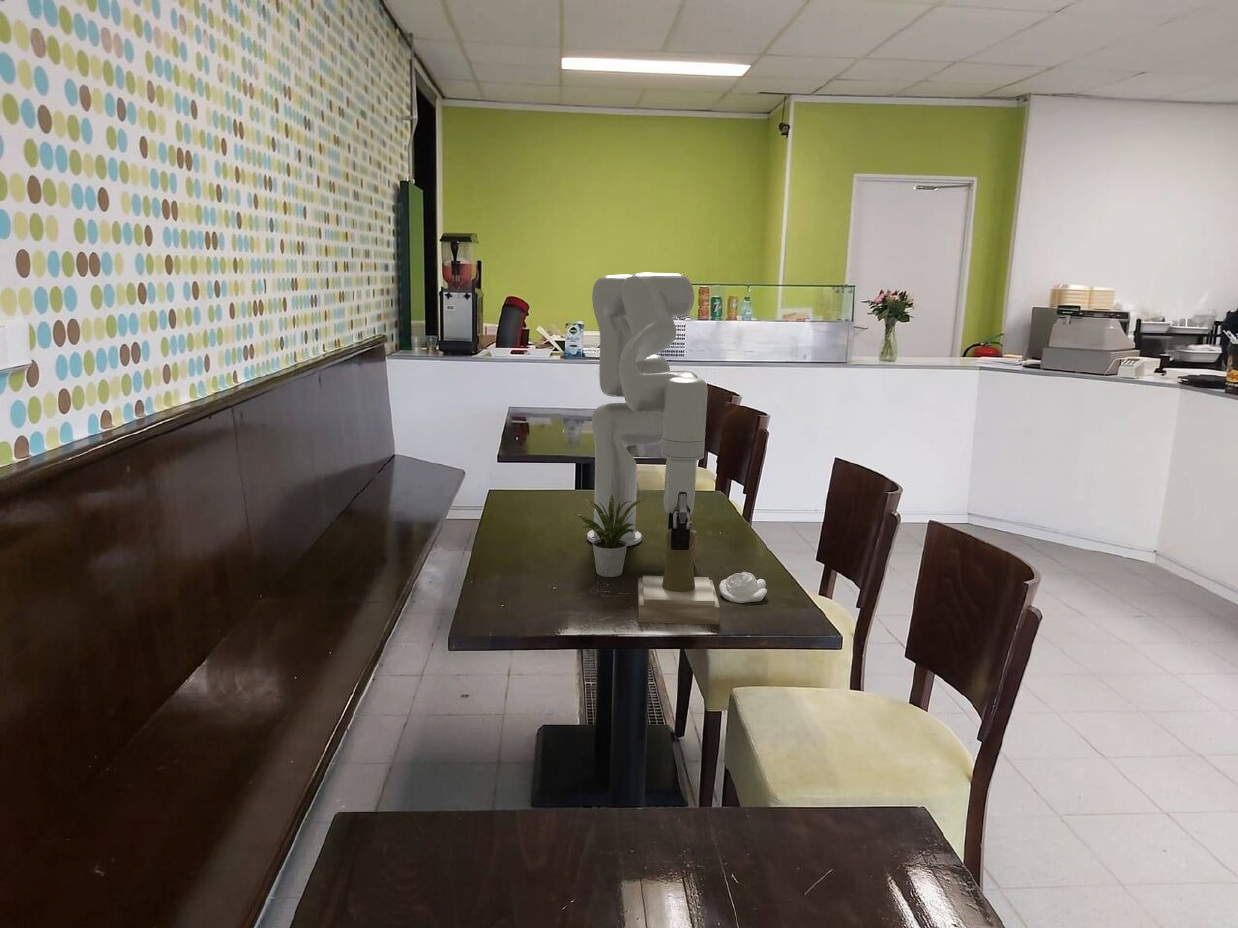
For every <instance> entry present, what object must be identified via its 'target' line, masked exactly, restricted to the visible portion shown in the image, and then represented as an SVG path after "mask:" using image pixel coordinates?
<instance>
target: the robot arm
mask: <svg viewBox="0 0 1238 928" xmlns="http://www.w3.org/2000/svg"><path fill="white" fill-rule="evenodd" d="M591 295H592V296H591V300H592V309H593V313H594V317H595V320H596V324H597V326H598V331H599V368H598V369H599V374H598V375H599V376H598V378H599V387H600V390H601V392H602V393H603V395H605V396H608V397H615V398H624V401H625V402H612V403H605V404H601V405H599V406H598V407H596V408H595V409H594V411H593V413H592V416H591V427H592V435H593V441H594V442H593V443H594V458H595V459H594V467H595V468H594V498H595V499H594V503H595V504H597V505H598V506H599V507H600V508H601V510H602V511H603V513H604V514H605V512H604V510H603V508H602V506H601V505H600V503H601V504H602V505H603V507H604V508H605V510H606V512H607V514H608V516H609V511H608V509H609V502H610V497H611V495H613V498H614V522H613V523H614V524H615V518H616V510H617V506H618V504H619V502H620V503H621V504H620V506H622V505H623V504H624V503H625V502H627V503H626V504H625V505H624V506H623V507H622V508H621V507H620V508H621V510H620V512H619V517H620V516H622V515H624V513H625V511H626V510H627V508H628V507H629V506H630V505H632V504H633V503H634V502H636V501H637V486H638V485H637V482H638V481H637V479H638V465H637V462H636V459H635V458H634V456H633V455H632V454H631V453H630V452H629V451H628V449H627V447H630V446H644V445H645V446H646V445H647V446H648V445H660V444H661V452H660V453H661V455H660V456H661V457H662V458H664V459H666V461H665V472H664V473H665V474H664V489H663V491H664V492H663V507H664V508H663V509H664V512H665V514H667V515H668V525H667V526H668V528H667V531H668V530H669V529H671V528H672V530H671V549H672V550H689V541H690V528H689V521H690V516H691V515H692V514H694V508H695V506H694V505H695V498H696V497H695V496H696V485H697V470H698V469H697V467H698V461H700V460H702V459H704V457H705V443H706V441H705V439H706V423H707V408H708V392H709V391H708V390H709V389H708V384H707V382H706V381H705V380H703V379H702V378H699V377H698V375H697V374H695V373H694V372H692V371H688V370H687V371H686V370H671V369H670V365H669V362H668V360H667V359H666V358H665V357H664V356H662V355H659V354H658V353H661V352H663V351H664V350H667V348H669V347H670V346H671V345H672V344H673V342H674V341H675V339H676V338H677V337H676V336H677V328H676V324H675V322H674V318H673V317H676V318H677V317H678V318H679V317H685V316H687V315H688V314H690V312H691V311H692V310H693V307H694V303H695V291H694V287H693V285H692V283H691V281H690V280H689V278H688V277H687V276H685V275H684V274H682V273H670V272H668V273H666V272H639V273H635V274H610V275H609V274H608V275H604V276H602V277H600V278H597V280H596V281H595V283H594V284H593V288H592V293H591ZM598 501H599V502H600V503H599V502H598ZM628 501H631V502H628ZM593 508H594V507H593ZM635 510H636V511H635ZM634 511H635V512H634ZM631 514H632V515H631ZM605 515H606V514H605ZM630 515H631V516H630ZM600 516H601V514H600ZM600 516H599V514H598V512H597V510H596V509H595V508H594V512H593V518H594V519H593V521H594V522H596V523H597V524H598V525H599V526H600V527H601V528H602V529H603V530H604V529H605V528H604V525H603V523H602V521H601V518H600ZM629 516H630V517H629ZM596 517H597V518H598V519H597V518H596ZM619 517H618V518H619ZM628 517H629V518H628ZM636 517H637V504H636V505H635V506H634V507H633V508H632V509H631V510H630V512H629V513H628V514H627V516H626V517H625V519H624V521H625V520H626V519H627V518H628V519H627V520H626V521H625V523H624V521H623V523H624V524H623V523H622V524H623V525H625V524H627V523H630V524H633V526H630V527H628V528H627V529H632V530H635V531H633V534H632V533H631V532H628V533H626V534H624V535H623V536H622V537H621V538H620V539H619V540H623V541H625V542H626V543H627V547H630V546H634V545H637V544H639V543H641V541H642V540H643V537H642V536H643V535H642V533H641V532H639V531H638V530H636V526H635V525H636V523H637V522H636V521H637V520H636ZM599 521H600V522H599ZM601 524H602V525H601ZM614 524H613V527H614ZM602 526H603V527H602ZM621 526H622V525H621ZM620 528H621V527H620ZM606 535H607V534H606ZM586 538H587V541H588V542H590V543H591V544H593V542H594V541H596V540H599V539H600V537H599V536H598V535H597V533H596V532H595V531H594V530H593V529H591V530H589V532H587V534H586Z"/></svg>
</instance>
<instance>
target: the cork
mask: <svg viewBox="0 0 1238 928" xmlns="http://www.w3.org/2000/svg"><path fill="white" fill-rule="evenodd" d="M671 530H672V528H671V529H669V530H668V529H667V532H666V535H665V540H666V544H667V543H668V545H669V548H668V554H667V560H666V559H665V565H664V571H663V576H664V577H663V583H662V587H663V588H664V589H666V590H669V591H674V592H688V591H691V590H693V589H694V588H695V581H694V577H695V570H694V567H693V559H692V545H693V544H694V541H695V542H696V536H695V535H694V532H693V531H692V530H693V529H692V528H691V529H690V541H689V550H672V549H671Z"/></svg>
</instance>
